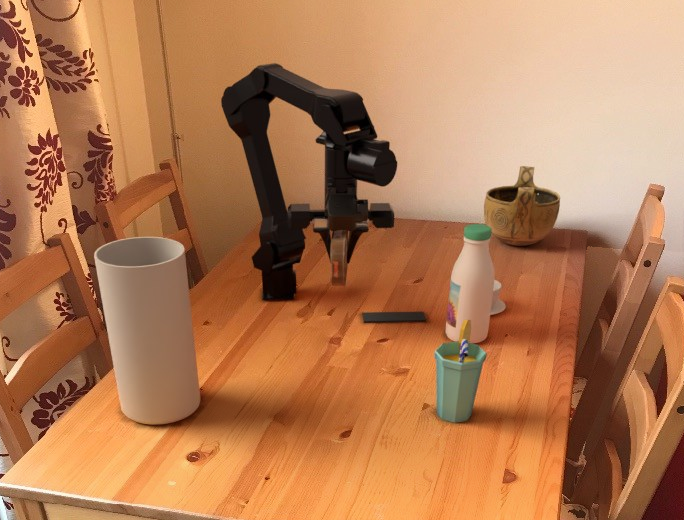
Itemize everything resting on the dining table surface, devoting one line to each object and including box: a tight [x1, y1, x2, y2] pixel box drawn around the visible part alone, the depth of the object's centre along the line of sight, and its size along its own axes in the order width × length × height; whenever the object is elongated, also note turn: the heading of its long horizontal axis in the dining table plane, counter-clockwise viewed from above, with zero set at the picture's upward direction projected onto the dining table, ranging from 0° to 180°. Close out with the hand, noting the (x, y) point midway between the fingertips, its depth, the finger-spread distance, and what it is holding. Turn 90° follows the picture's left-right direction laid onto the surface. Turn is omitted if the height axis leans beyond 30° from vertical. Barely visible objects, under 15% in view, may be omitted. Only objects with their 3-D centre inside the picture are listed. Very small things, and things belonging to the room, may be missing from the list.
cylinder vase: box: [93, 236, 201, 426], centre depth 119 cm, size 12×12×25 cm
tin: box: [329, 230, 349, 288], centre depth 145 cm, size 15×3×8 cm, turn 176°
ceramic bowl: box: [483, 165, 561, 247], centre depth 184 cm, size 22×17×15 cm
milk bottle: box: [445, 223, 495, 344], centre depth 141 cm, size 8×8×20 cm
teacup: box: [490, 279, 507, 316], centre depth 156 cm, size 10×10×5 cm
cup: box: [433, 320, 488, 424], centre depth 119 cm, size 14×8×15 cm, turn 174°
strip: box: [361, 311, 427, 324], centre depth 153 cm, size 12×4×1 cm, turn 92°
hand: (339, 262), depth 146 cm, fingers closed on tin, 3 cm apart
